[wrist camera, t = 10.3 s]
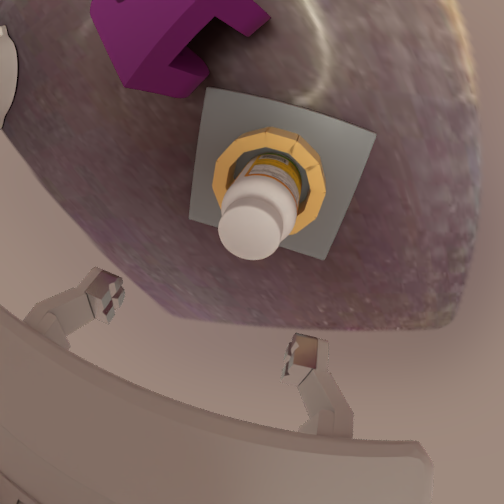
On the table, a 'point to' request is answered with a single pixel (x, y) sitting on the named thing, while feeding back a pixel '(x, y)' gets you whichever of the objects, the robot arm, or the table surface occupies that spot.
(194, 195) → the plate
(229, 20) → the mounting bracket
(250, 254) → the supplement bottle
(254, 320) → the table surface
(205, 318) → the table surface
